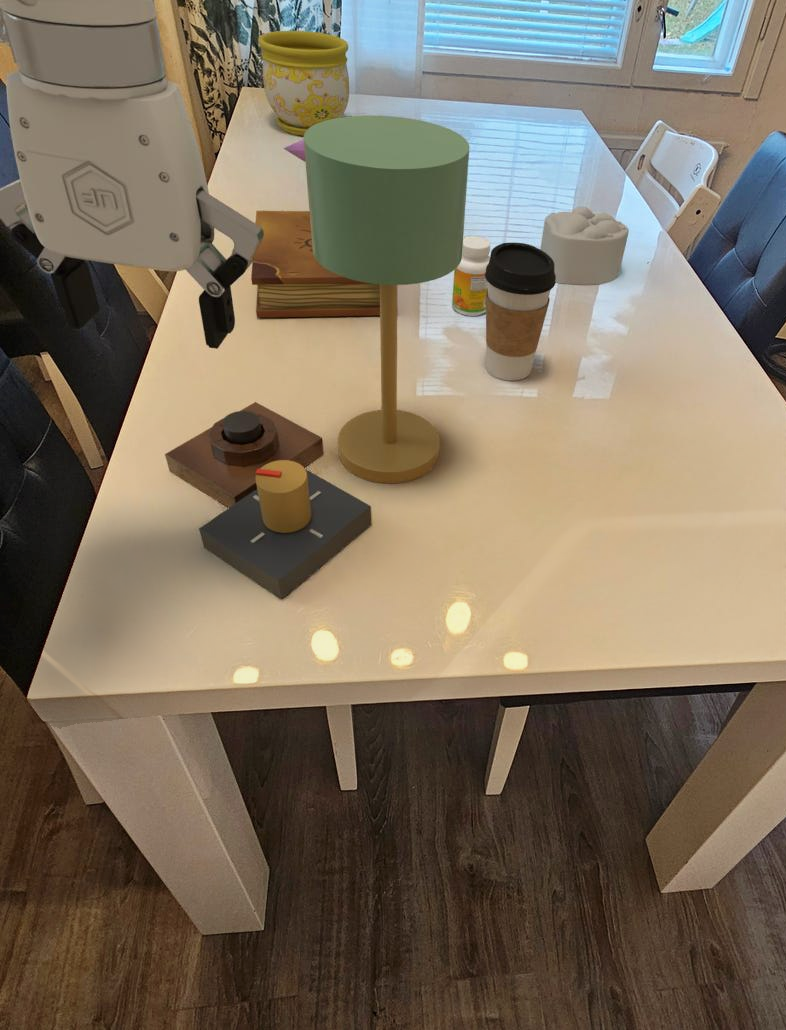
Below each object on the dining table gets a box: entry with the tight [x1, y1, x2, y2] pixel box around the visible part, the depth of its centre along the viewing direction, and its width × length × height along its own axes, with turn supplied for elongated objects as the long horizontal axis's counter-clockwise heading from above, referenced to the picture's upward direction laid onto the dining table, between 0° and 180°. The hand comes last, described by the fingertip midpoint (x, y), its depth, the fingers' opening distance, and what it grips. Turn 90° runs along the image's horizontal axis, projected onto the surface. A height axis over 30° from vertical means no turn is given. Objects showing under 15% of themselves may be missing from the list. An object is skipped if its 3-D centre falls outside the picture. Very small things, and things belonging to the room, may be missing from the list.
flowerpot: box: [257, 30, 350, 137], centre depth 150 cm, size 18×18×16 cm
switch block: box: [164, 401, 324, 509], centre depth 73 cm, size 12×10×4 cm
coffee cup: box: [485, 242, 557, 382], centre depth 86 cm, size 8×8×15 cm
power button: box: [222, 410, 262, 445], centre depth 71 cm, size 4×4×2 cm
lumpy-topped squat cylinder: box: [539, 206, 629, 286], centre depth 112 cm, size 10×13×9 cm
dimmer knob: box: [256, 460, 312, 533], centre depth 63 cm, size 4×4×5 cm
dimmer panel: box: [198, 468, 372, 600], centre depth 66 cm, size 12×10×3 cm
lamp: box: [303, 115, 470, 484], centre depth 67 cm, size 13×13×32 cm
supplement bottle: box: [451, 235, 491, 317], centre depth 99 cm, size 5×5×10 cm
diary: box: [250, 210, 380, 318], centre depth 103 cm, size 23×19×6 cm
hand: (152, 329), depth 51 cm, fingers open, 9 cm apart
